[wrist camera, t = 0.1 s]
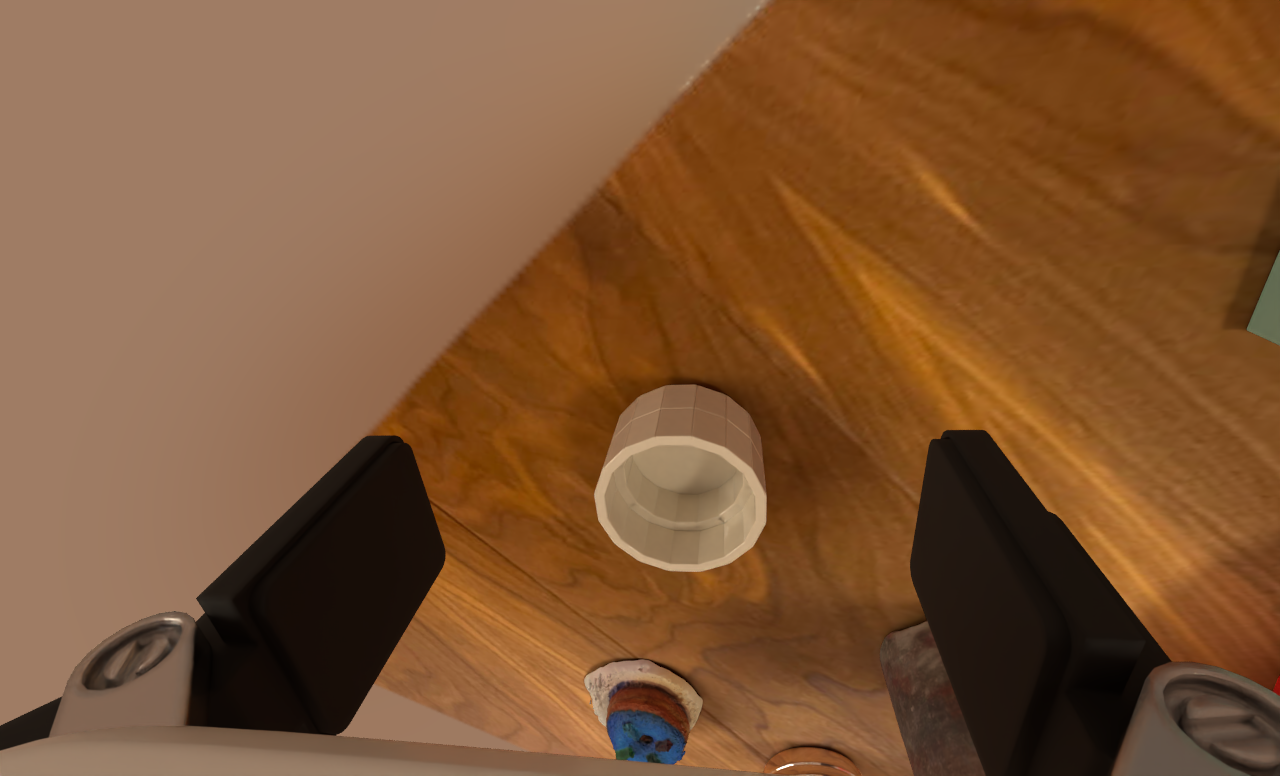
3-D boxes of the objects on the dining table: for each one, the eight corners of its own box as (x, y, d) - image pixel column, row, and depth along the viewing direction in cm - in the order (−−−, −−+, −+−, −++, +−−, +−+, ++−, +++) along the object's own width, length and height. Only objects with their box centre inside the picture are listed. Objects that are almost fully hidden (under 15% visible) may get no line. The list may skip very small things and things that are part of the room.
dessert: (731, 726, 36) (678, 817, 33) (671, 695, 42) (620, 771, 39) (661, 643, 35) (598, 731, 32) (607, 621, 40) (549, 695, 37)
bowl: (607, 380, 27) (584, 437, 22) (760, 376, 26) (767, 435, 21) (623, 499, 30) (606, 569, 26) (760, 500, 29) (766, 574, 24)
